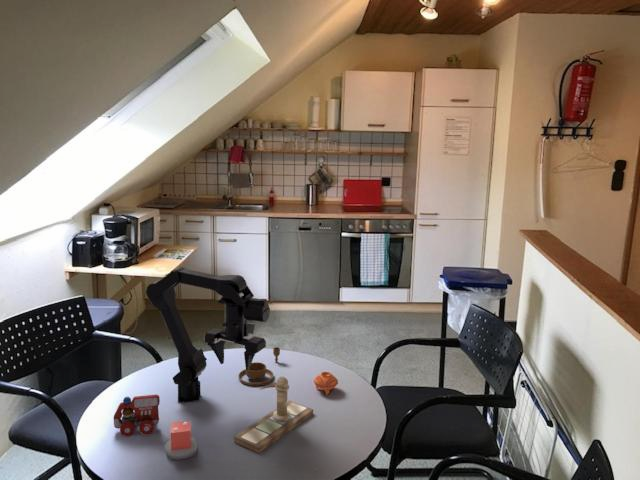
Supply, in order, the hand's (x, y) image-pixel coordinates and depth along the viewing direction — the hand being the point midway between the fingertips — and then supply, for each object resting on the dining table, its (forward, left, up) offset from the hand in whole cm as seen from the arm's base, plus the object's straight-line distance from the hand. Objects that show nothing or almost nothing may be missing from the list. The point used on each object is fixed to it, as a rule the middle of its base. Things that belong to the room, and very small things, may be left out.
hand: (234, 366), depth 165 cm
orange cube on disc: (-16, -21, -13) cm, 29 cm away
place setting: (+12, +19, -14) cm, 26 cm away
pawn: (+12, -12, -11) cm, 21 cm away
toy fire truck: (-28, -8, -13) cm, 32 cm away
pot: (+30, +4, -13) cm, 33 cm away
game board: (+10, -14, -13) cm, 22 cm away
